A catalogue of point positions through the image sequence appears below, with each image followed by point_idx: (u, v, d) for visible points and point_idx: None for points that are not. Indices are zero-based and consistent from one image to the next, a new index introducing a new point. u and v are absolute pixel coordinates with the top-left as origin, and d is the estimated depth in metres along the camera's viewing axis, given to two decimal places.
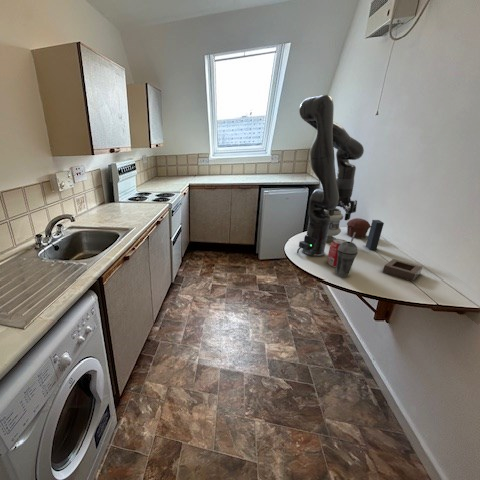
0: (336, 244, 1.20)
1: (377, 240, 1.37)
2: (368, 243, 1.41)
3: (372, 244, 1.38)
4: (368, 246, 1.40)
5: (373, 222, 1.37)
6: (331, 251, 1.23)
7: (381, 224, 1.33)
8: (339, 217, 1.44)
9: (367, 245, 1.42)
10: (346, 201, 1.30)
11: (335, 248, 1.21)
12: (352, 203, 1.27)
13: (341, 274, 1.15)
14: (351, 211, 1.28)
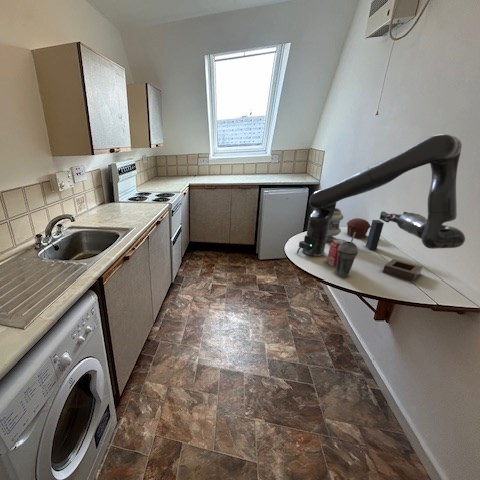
0: (336, 244, 1.20)
1: (377, 240, 1.37)
2: (368, 243, 1.41)
3: (372, 244, 1.38)
4: (368, 246, 1.40)
5: (373, 222, 1.37)
6: (331, 251, 1.23)
7: (381, 224, 1.33)
8: (339, 217, 1.44)
9: (367, 245, 1.42)
10: (396, 217, 1.15)
11: (335, 248, 1.21)
12: (387, 216, 1.16)
13: (341, 274, 1.15)
14: (382, 214, 1.20)
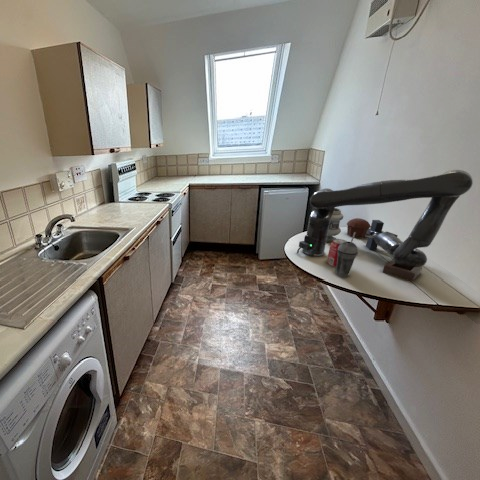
0: (336, 244, 1.20)
1: None
2: (368, 243, 1.41)
3: (372, 244, 1.38)
4: (368, 246, 1.40)
5: (373, 222, 1.37)
6: (331, 251, 1.23)
7: (381, 224, 1.33)
8: (339, 217, 1.44)
9: (367, 245, 1.42)
10: (374, 235, 1.31)
11: (335, 248, 1.21)
12: (367, 233, 1.34)
13: (341, 274, 1.15)
14: (367, 231, 1.36)
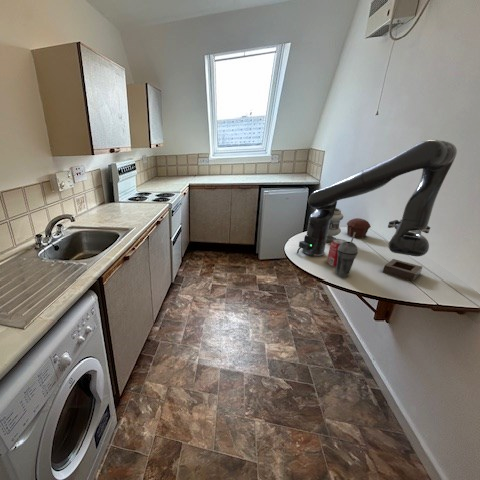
0: (336, 244, 1.20)
1: None
2: None
3: None
4: None
5: None
6: (331, 251, 1.23)
7: None
8: (339, 217, 1.44)
9: None
10: (398, 224, 1.14)
11: (335, 248, 1.21)
12: None
13: (341, 274, 1.15)
14: (395, 220, 1.18)
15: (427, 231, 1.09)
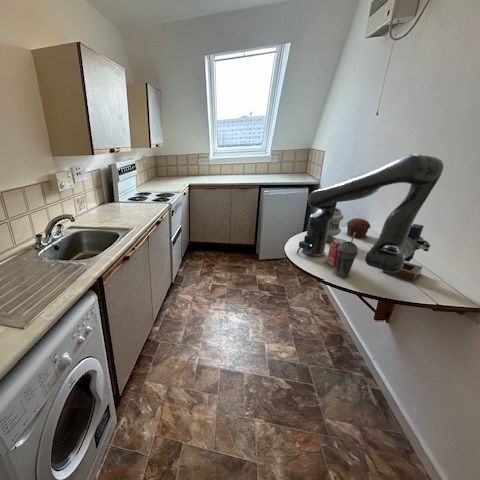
0: (336, 244, 1.20)
1: None
2: None
3: None
4: None
5: None
6: (331, 251, 1.23)
7: (416, 229, 1.07)
8: (339, 217, 1.44)
9: None
10: None
11: (335, 248, 1.21)
12: None
13: (341, 274, 1.15)
14: None
15: (426, 249, 1.02)
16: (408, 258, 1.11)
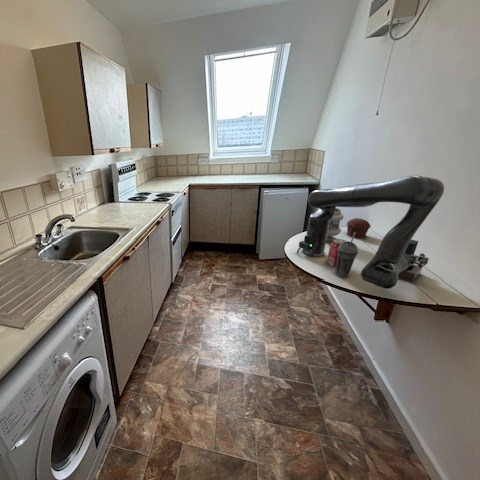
0: (336, 244, 1.20)
1: None
2: None
3: None
4: None
5: None
6: (331, 251, 1.23)
7: (411, 245, 1.09)
8: (339, 217, 1.44)
9: None
10: None
11: (335, 248, 1.21)
12: None
13: (341, 274, 1.15)
14: None
15: (419, 265, 1.04)
16: None
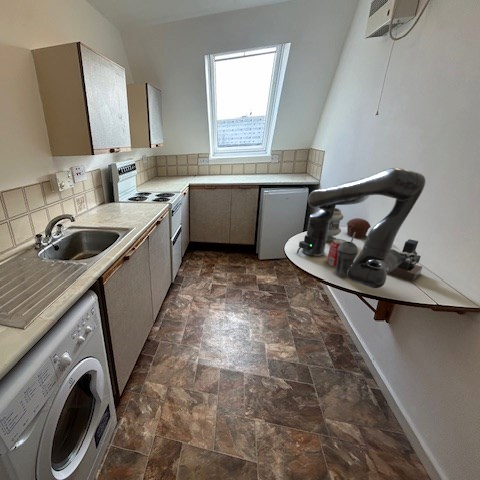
0: (336, 244, 1.20)
1: (405, 264, 1.12)
2: None
3: None
4: None
5: None
6: (331, 251, 1.23)
7: (411, 245, 1.09)
8: (339, 217, 1.44)
9: None
10: None
11: (335, 248, 1.21)
12: None
13: (341, 274, 1.15)
14: None
15: (410, 263, 0.97)
16: None
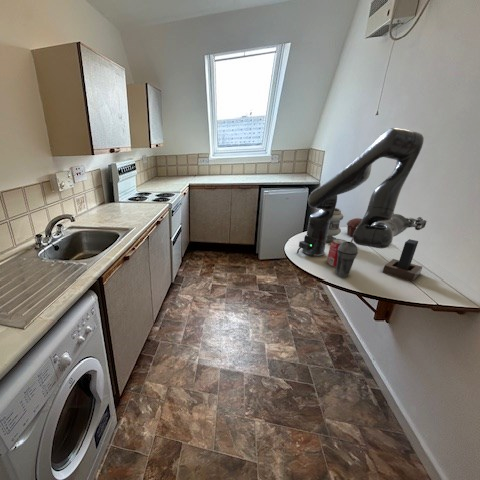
0: (336, 244, 1.20)
1: (405, 264, 1.12)
2: None
3: None
4: None
5: None
6: (331, 251, 1.23)
7: (411, 245, 1.09)
8: (339, 217, 1.44)
9: None
10: None
11: (335, 248, 1.21)
12: None
13: (341, 274, 1.15)
14: None
15: (416, 227, 0.96)
16: None
